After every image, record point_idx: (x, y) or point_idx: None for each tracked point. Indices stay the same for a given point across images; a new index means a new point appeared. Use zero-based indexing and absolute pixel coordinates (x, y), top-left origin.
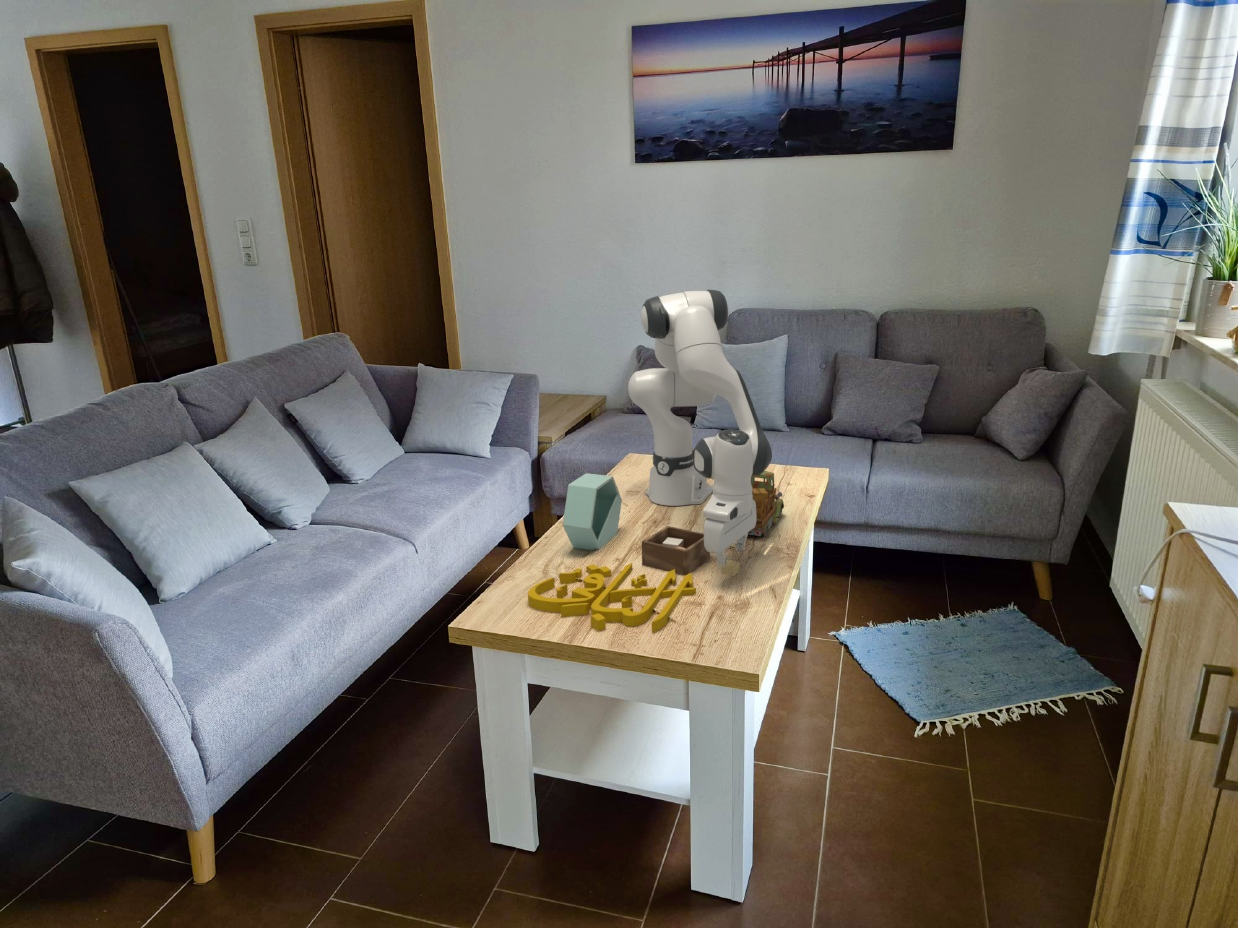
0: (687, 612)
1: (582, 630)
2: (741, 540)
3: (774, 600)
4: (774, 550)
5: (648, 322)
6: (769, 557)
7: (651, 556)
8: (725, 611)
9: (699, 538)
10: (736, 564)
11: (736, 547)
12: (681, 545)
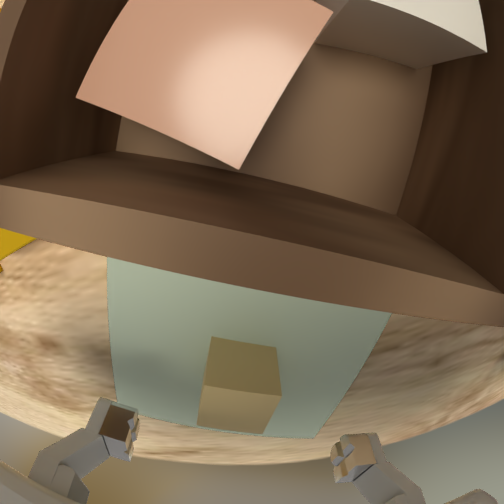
0: None
1: None
2: (371, 487)
3: None
4: (468, 392)
5: None
6: (428, 403)
7: None
8: (6, 360)
9: (501, 206)
10: (228, 429)
11: (351, 450)
12: (427, 39)
